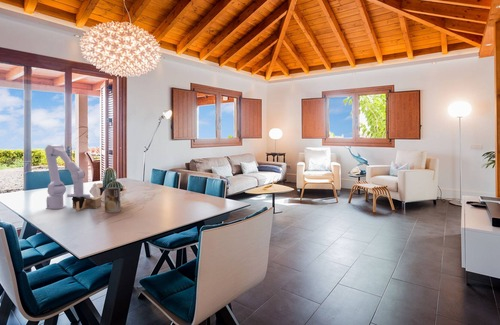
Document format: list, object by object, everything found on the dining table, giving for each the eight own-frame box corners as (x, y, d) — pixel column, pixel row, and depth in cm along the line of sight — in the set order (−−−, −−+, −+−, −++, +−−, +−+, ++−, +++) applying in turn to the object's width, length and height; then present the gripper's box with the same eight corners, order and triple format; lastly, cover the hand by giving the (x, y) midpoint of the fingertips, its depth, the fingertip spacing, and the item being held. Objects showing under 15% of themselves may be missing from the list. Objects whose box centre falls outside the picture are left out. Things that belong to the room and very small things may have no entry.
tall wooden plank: (76, 210, 194) (76, 202, 194) (86, 206, 206) (86, 198, 206) (79, 210, 194) (78, 202, 194) (88, 206, 206) (88, 198, 206)
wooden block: (72, 207, 202) (72, 198, 201) (79, 205, 210) (79, 195, 209) (95, 208, 202) (95, 198, 201) (101, 205, 210) (101, 196, 210)
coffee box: (121, 210, 199) (120, 187, 197) (119, 212, 192) (119, 188, 191) (106, 210, 196) (106, 187, 195) (104, 212, 190) (104, 189, 189)
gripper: (64, 188, 191) (64, 208, 192) (85, 189, 191) (86, 209, 192) (70, 187, 198) (71, 206, 199) (91, 187, 198) (92, 206, 199)
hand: (79, 207), depth 196 cm, fingers closed on tall wooden plank, 2 cm apart
